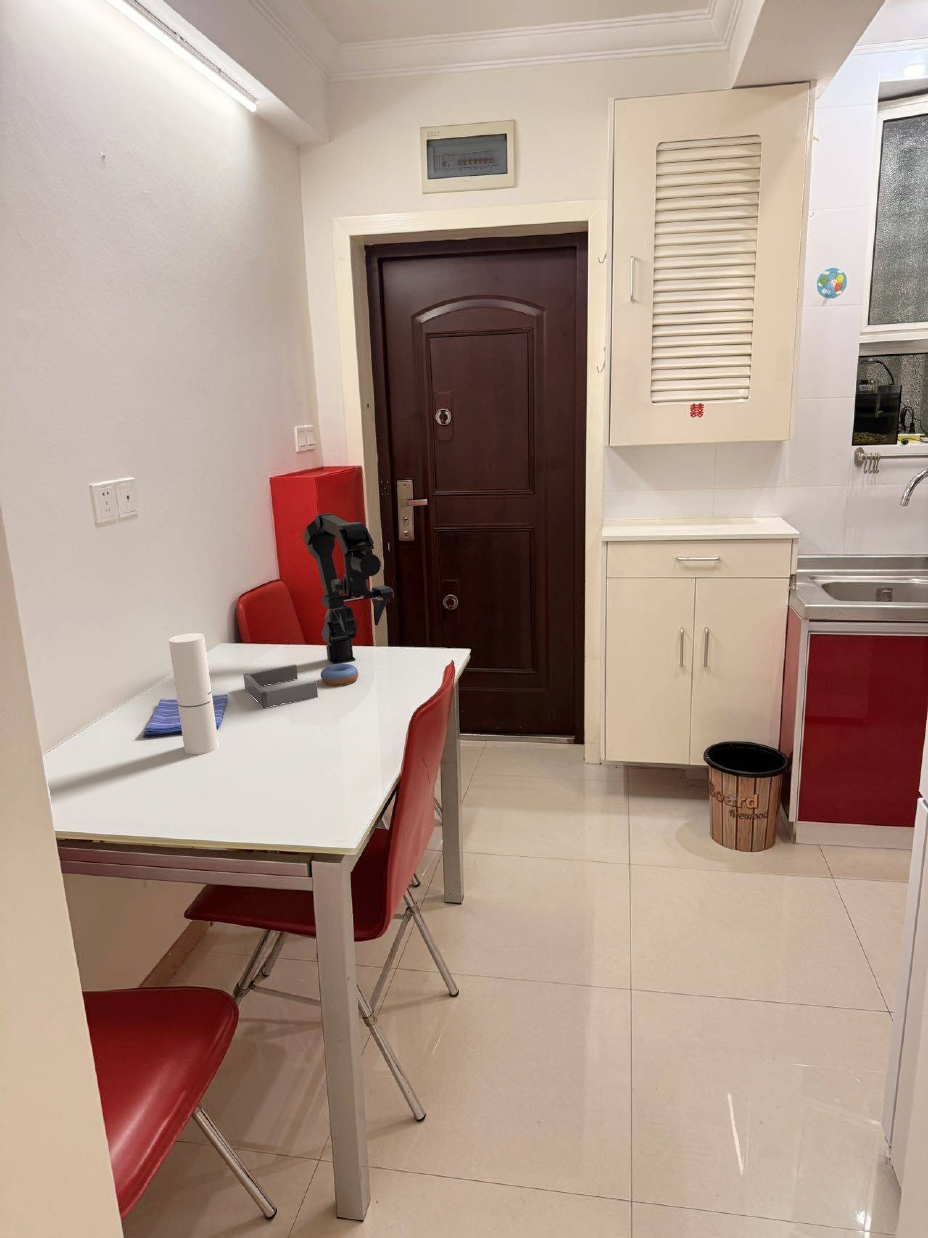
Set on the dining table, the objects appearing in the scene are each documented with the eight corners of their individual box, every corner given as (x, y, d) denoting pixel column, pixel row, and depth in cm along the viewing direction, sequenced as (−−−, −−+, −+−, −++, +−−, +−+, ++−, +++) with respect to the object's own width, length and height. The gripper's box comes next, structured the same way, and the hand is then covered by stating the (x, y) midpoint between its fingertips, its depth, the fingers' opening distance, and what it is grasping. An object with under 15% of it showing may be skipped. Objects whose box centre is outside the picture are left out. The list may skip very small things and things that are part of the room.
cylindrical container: (223, 741, 187) (209, 632, 181) (211, 754, 181) (195, 642, 174) (192, 741, 188) (177, 633, 182) (179, 754, 181) (162, 642, 175)
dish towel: (142, 741, 191) (140, 730, 191) (159, 706, 214) (157, 696, 213) (220, 733, 194) (218, 721, 193) (229, 699, 217) (227, 688, 216)
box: (296, 678, 229) (295, 664, 228) (318, 697, 213) (316, 682, 212) (245, 688, 223) (243, 674, 222) (263, 708, 207) (261, 693, 206)
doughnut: (317, 677, 228) (316, 661, 227) (353, 673, 231) (353, 658, 230) (324, 691, 219) (324, 675, 218) (362, 687, 223) (362, 671, 221)
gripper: (374, 562, 234) (378, 617, 238) (310, 572, 225) (316, 629, 228) (392, 567, 225) (397, 624, 228) (327, 578, 215) (333, 637, 219)
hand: (360, 628), depth 226 cm, fingers open, 9 cm apart
